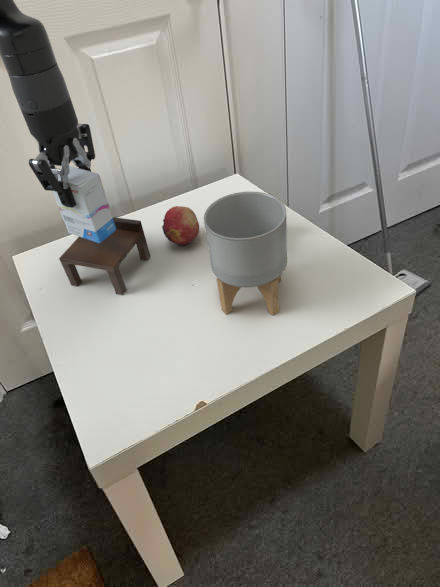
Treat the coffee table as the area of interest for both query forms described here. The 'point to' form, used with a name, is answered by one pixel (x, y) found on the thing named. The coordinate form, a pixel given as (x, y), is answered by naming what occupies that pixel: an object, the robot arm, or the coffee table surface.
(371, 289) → the coffee table surface
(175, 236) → the fruit
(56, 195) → the ink box
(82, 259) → the small wooden stool
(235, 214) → the planter
